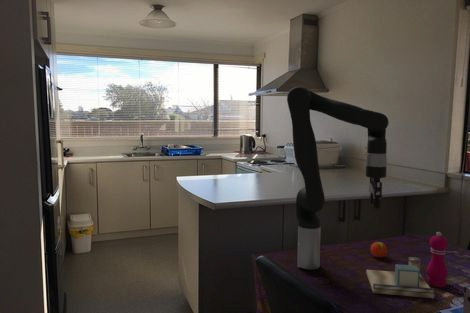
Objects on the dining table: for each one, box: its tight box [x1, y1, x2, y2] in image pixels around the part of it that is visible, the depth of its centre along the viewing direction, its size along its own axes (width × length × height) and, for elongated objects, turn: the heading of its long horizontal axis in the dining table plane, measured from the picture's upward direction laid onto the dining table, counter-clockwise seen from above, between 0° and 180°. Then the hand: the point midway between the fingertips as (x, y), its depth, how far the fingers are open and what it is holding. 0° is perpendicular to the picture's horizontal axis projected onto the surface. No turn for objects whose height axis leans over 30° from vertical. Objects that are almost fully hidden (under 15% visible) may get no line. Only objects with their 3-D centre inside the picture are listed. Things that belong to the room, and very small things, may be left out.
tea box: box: [394, 264, 421, 287], centre depth 137 cm, size 5×7×7 cm
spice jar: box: [407, 256, 421, 271], centre depth 146 cm, size 4×4×7 cm
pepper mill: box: [426, 231, 449, 288], centre depth 142 cm, size 7×7×20 cm
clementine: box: [370, 241, 388, 258], centre depth 171 cm, size 8×7×7 cm
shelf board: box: [366, 269, 436, 299], centre depth 142 cm, size 20×18×3 cm
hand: (374, 205), depth 148 cm, fingers open, 8 cm apart
